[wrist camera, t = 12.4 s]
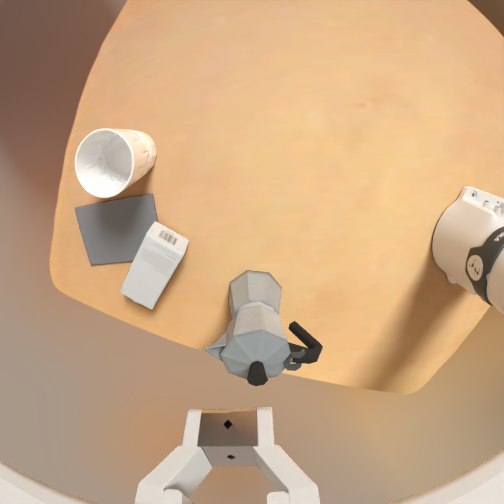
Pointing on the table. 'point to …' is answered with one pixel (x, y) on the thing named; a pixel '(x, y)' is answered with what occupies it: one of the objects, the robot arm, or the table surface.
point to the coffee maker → (260, 332)
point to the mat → (116, 227)
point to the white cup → (113, 160)
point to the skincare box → (154, 265)
